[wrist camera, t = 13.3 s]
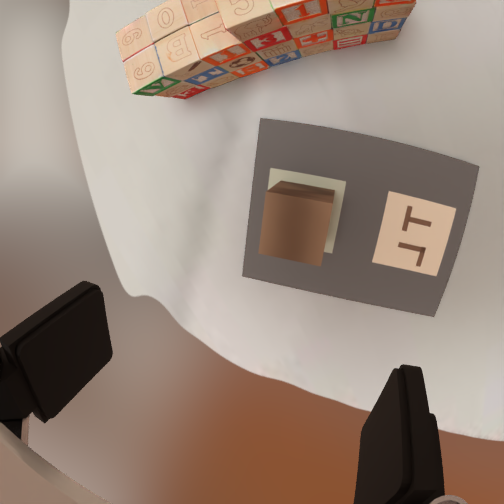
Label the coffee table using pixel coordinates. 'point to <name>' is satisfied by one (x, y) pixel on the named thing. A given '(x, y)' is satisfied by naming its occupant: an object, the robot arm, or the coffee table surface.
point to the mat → (365, 215)
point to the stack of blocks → (243, 38)
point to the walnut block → (296, 222)
